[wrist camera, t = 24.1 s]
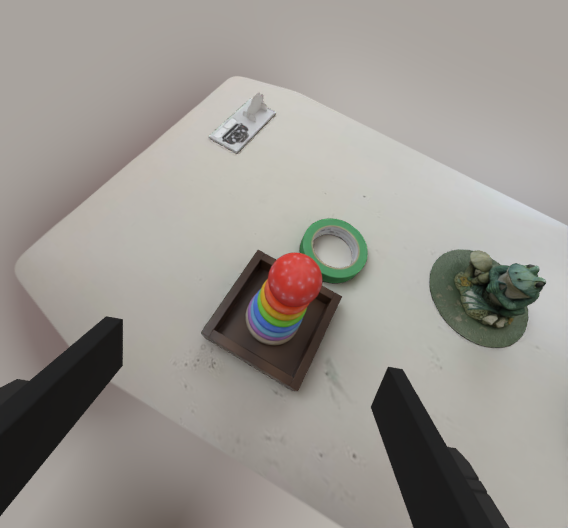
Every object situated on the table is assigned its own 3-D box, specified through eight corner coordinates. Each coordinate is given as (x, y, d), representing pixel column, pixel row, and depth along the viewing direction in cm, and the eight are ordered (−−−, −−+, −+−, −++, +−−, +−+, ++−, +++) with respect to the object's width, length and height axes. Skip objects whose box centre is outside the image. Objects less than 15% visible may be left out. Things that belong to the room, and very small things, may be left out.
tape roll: (361, 232, 49) (367, 224, 47) (362, 288, 44) (368, 282, 42) (302, 221, 48) (305, 212, 46) (296, 277, 44) (299, 271, 41)
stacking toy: (260, 356, 37) (275, 332, 20) (236, 306, 40) (232, 247, 23) (308, 330, 40) (357, 290, 23) (283, 284, 42) (310, 217, 25)
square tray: (204, 337, 38) (200, 332, 35) (256, 259, 44) (258, 249, 41) (293, 391, 37) (297, 391, 33) (334, 303, 43) (342, 296, 39)
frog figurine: (419, 247, 50) (466, 210, 39) (505, 252, 52) (571, 218, 41) (444, 347, 42) (510, 334, 32) (543, 348, 45) (635, 336, 34)
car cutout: (250, 100, 60) (250, 79, 56) (275, 113, 59) (278, 93, 55) (208, 138, 53) (206, 117, 49) (236, 153, 53) (236, 134, 49)
